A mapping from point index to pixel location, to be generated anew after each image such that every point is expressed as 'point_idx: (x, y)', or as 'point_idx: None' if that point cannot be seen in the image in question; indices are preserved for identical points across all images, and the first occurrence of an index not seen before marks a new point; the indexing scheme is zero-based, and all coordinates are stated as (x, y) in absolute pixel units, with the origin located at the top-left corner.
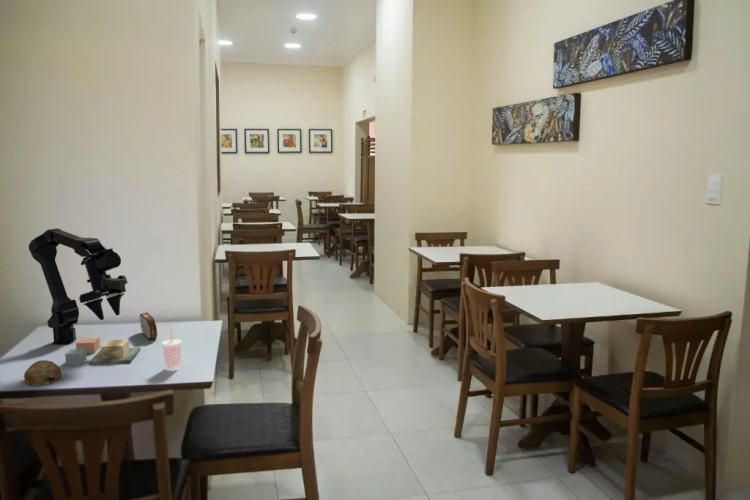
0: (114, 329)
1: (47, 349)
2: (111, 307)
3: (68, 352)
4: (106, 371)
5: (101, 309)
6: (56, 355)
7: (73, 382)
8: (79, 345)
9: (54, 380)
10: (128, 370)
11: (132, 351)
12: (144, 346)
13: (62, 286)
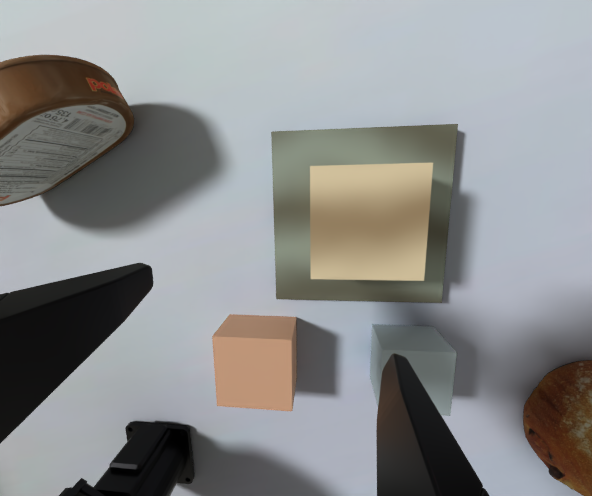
0: None
1: (244, 478)
2: (69, 374)
3: None
4: (545, 205)
5: (455, 483)
6: (311, 436)
7: None
8: (293, 390)
9: None
10: (557, 106)
11: (328, 152)
12: (222, 131)
13: None
